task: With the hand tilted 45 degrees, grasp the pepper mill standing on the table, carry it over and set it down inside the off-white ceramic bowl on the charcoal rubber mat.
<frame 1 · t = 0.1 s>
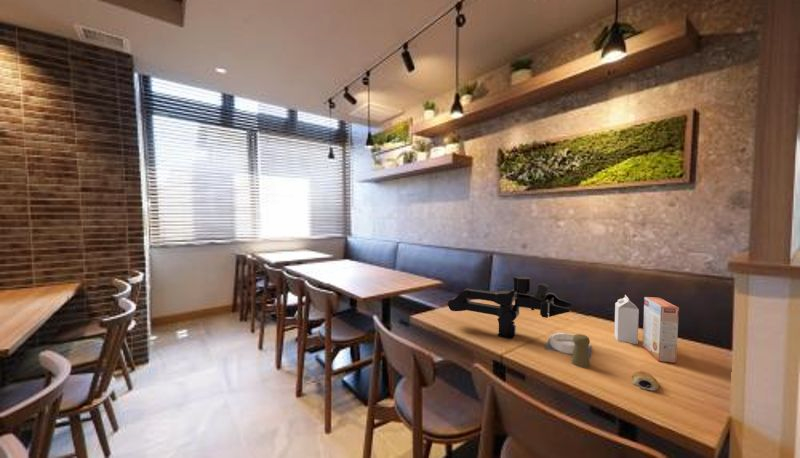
hand: (570, 307, 131), 17 cm above the table, tool horizontal, fingers open, 9 cm apart
bowl: (568, 347, 130), resting on mat
pastry: (643, 385, 104), on the table
cracker box: (658, 355, 124), on the table
milk carton: (625, 340, 138), on the table
mat: (568, 349, 130), on the table
pepper mill: (580, 365, 117), on the table
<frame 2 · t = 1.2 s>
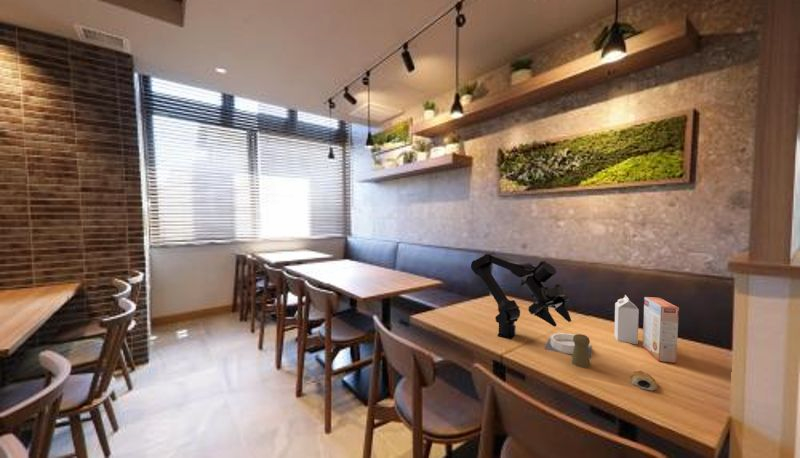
hand: (563, 323, 122), 13 cm above the table, tool tilted 45°, fingers open, 9 cm apart
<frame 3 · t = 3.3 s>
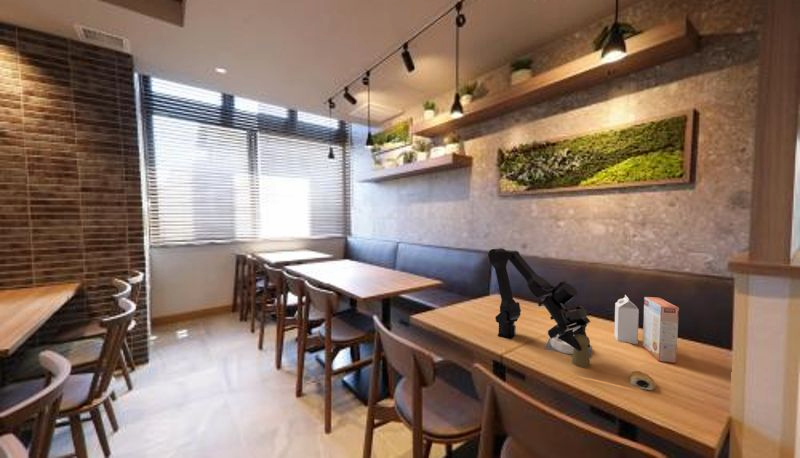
hand: (585, 348, 115), 7 cm above the table, tool tilted 45°, fingers closed on pepper mill, 5 cm apart
pepper mill: (580, 365, 117), on the table, touching gripper
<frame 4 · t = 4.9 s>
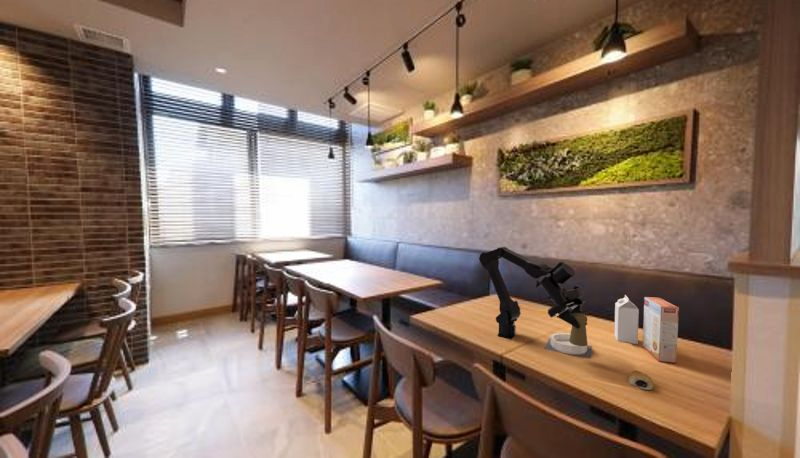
hand: (582, 326, 119), 13 cm above the table, tool tilted 45°, fingers closed on pepper mill, 5 cm apart
pepper mill: (578, 343, 120), point 6 cm above the table, touching gripper
when the fingers open (10 cm above the table, at t = 6.6 s): pepper mill drops 2 cm, resting on bowl.
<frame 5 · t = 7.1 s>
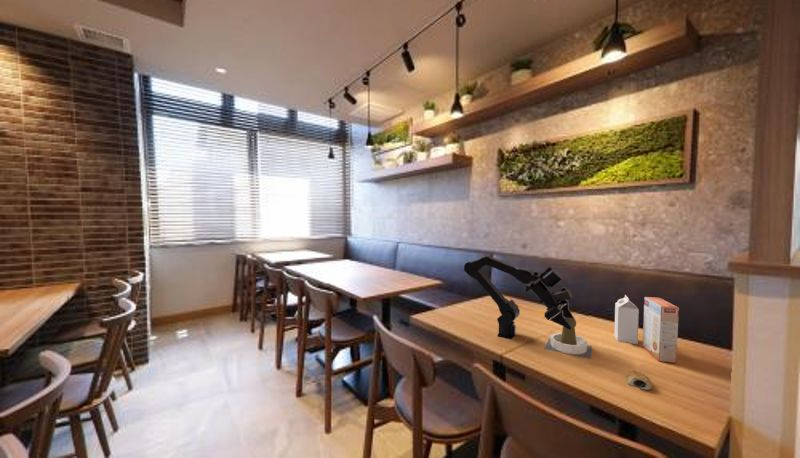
hand: (572, 325, 129), 10 cm above the table, tool tilted 45°, fingers open, 9 cm apart
pepper mill: (568, 345, 130), point 1 cm above the table, touching bowl
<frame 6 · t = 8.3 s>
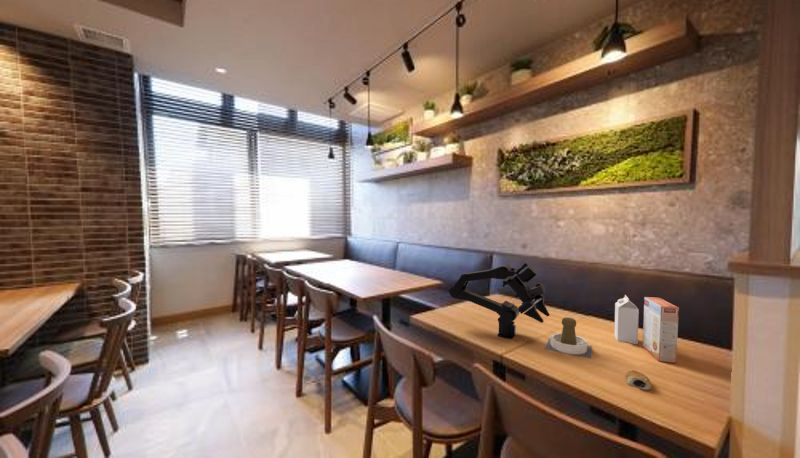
hand: (545, 318, 135), 11 cm above the table, tool tilted 45°, fingers open, 9 cm apart
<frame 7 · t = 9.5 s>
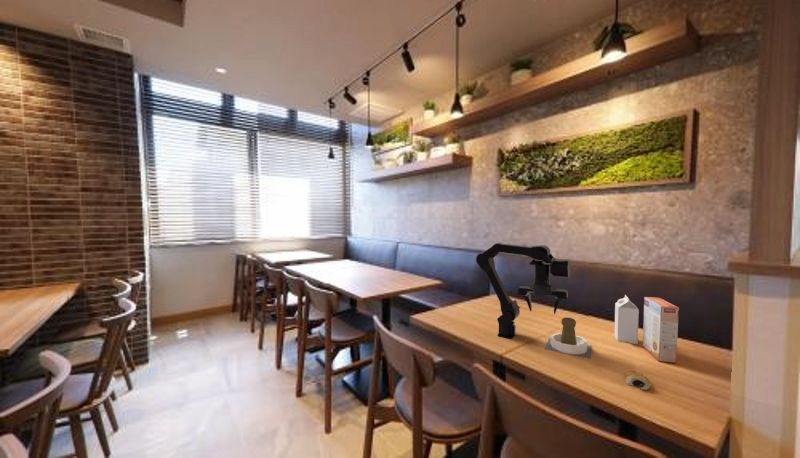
hand: (542, 312, 136), 13 cm above the table, tool pointing down, fingers open, 9 cm apart
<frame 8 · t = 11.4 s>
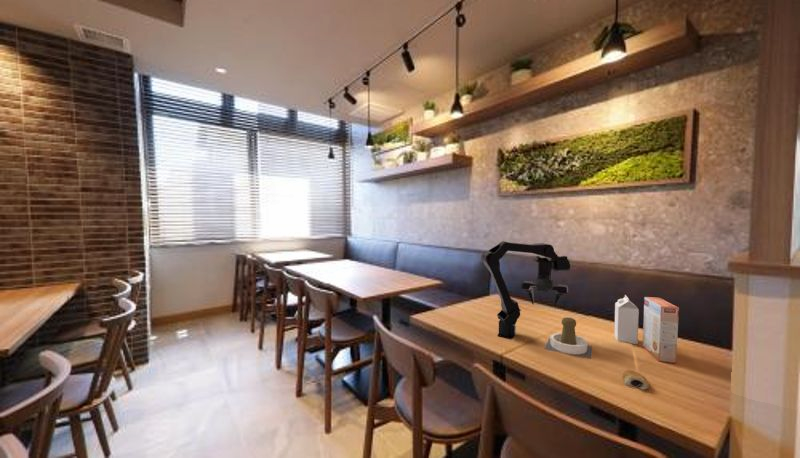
hand: (544, 305, 146), 13 cm above the table, tool pointing down, fingers open, 9 cm apart
at the end: pepper mill 0.1 cm from the bowl (horizontally); pepper mill tilted 0°; pepper mill touching bowl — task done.
